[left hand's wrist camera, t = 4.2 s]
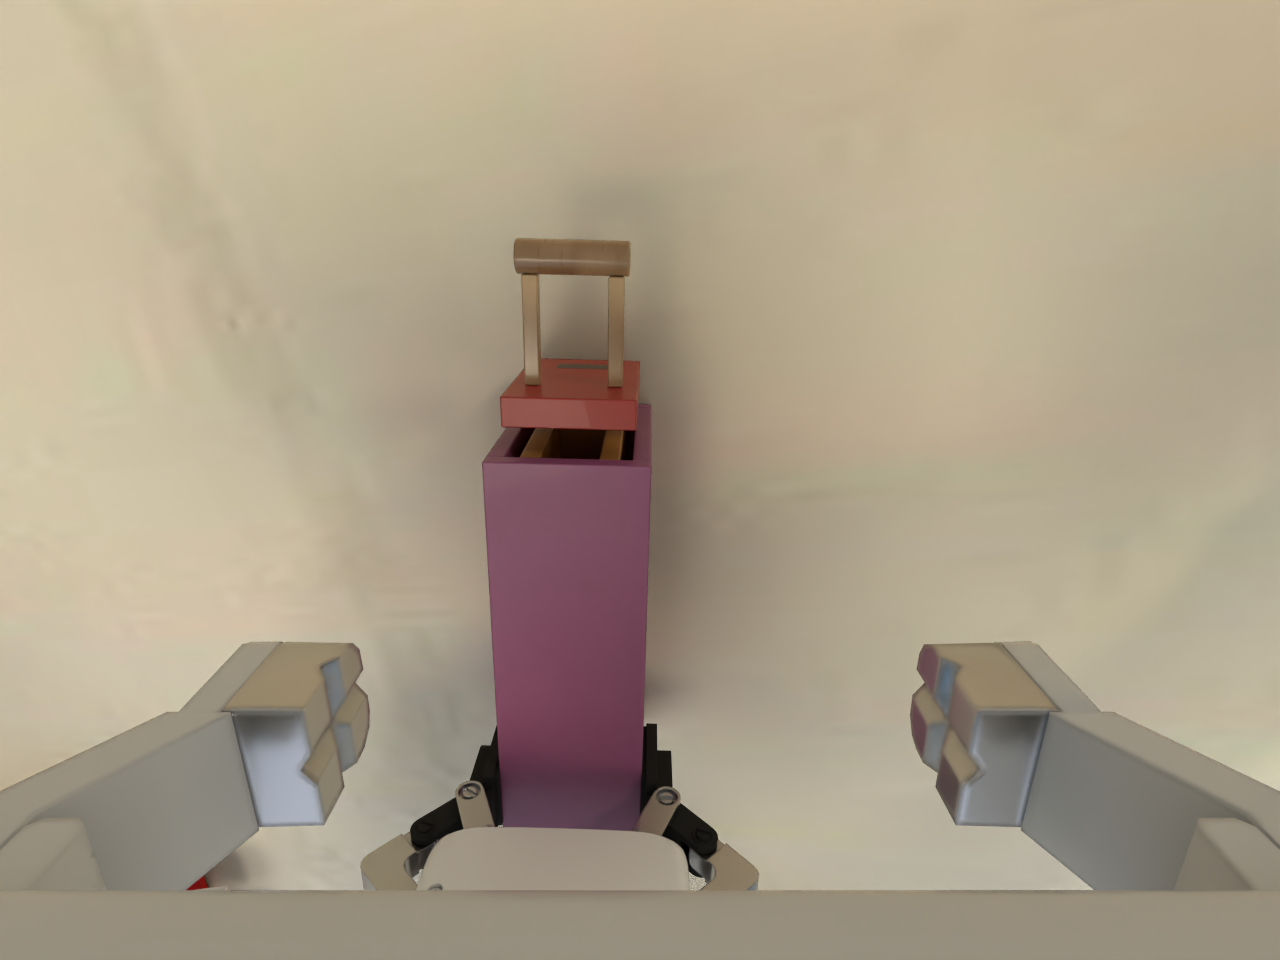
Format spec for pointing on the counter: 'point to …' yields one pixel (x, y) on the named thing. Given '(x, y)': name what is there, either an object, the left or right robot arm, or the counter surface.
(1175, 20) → the counter surface
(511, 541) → the cabinet
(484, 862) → the right robot arm
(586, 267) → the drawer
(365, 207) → the counter surface
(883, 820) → the counter surface
